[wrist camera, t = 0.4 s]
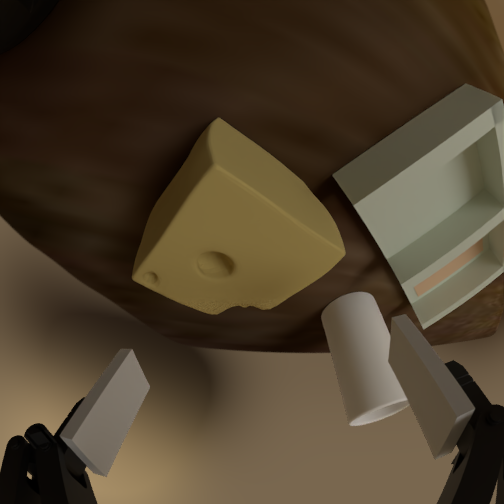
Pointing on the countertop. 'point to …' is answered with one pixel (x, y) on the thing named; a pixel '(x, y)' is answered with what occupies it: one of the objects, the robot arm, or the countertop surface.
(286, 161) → the countertop surface
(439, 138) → the tray
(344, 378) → the cup
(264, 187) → the cheese
